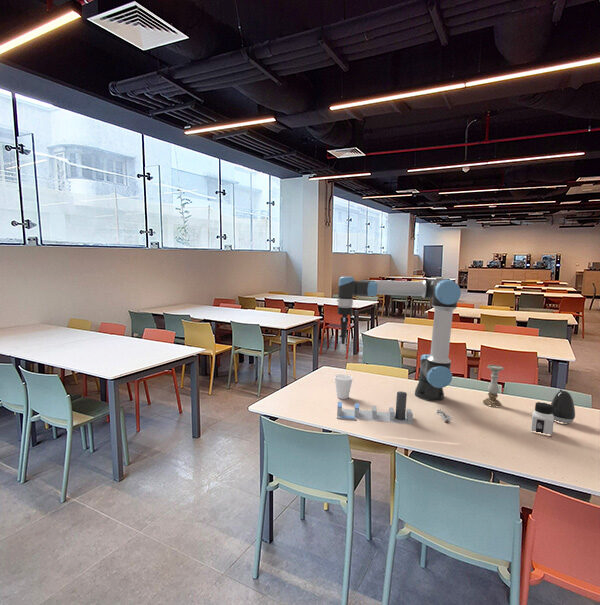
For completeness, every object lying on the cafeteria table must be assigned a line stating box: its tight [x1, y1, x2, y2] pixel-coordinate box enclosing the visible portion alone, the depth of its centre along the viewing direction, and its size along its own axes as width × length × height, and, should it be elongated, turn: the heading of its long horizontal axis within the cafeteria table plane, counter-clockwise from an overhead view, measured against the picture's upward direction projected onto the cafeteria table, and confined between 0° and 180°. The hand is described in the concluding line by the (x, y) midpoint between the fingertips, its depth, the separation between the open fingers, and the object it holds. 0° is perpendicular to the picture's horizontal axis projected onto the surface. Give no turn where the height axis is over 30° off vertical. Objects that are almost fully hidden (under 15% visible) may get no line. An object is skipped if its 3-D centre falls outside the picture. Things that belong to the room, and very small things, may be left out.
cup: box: [334, 374, 354, 400], centre depth 202 cm, size 10×10×11 cm
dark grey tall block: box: [395, 391, 408, 420], centre depth 176 cm, size 4×4×12 cm
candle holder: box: [482, 364, 505, 407], centre depth 199 cm, size 9×9×20 cm
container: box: [530, 401, 555, 436], centre depth 168 cm, size 8×8×13 cm
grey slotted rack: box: [336, 401, 414, 425], centre depth 178 cm, size 34×11×5 cm, turn 82°
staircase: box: [436, 408, 454, 424], centre depth 174 cm, size 6×4×6 cm, turn 23°
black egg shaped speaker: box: [550, 389, 576, 424], centre depth 179 cm, size 10×10×15 cm
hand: (343, 347), depth 198 cm, fingers open, 13 cm apart
